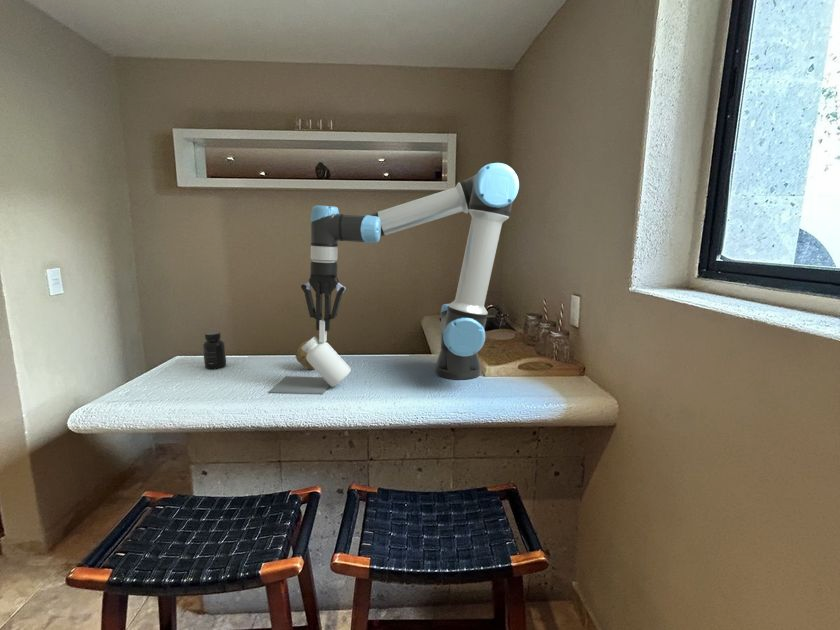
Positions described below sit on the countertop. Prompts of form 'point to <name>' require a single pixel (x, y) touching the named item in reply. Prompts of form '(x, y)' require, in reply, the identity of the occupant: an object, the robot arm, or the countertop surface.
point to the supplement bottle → (214, 351)
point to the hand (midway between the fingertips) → (322, 341)
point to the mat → (300, 385)
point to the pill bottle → (326, 361)
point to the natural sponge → (303, 356)
